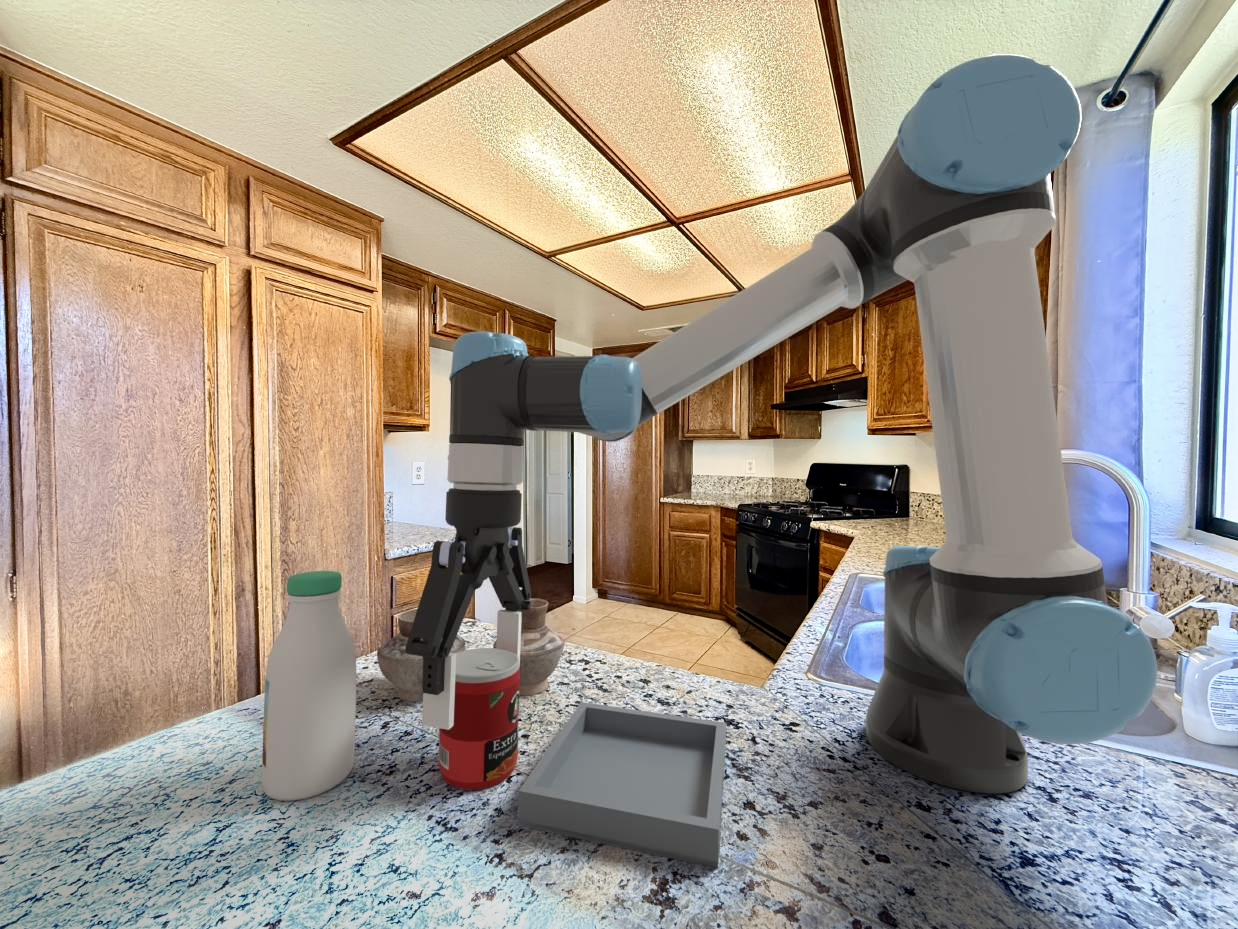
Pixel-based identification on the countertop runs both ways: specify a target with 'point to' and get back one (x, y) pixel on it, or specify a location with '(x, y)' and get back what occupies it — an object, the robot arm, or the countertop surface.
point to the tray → (632, 783)
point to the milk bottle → (309, 693)
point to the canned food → (482, 720)
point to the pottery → (407, 670)
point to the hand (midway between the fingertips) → (477, 693)
